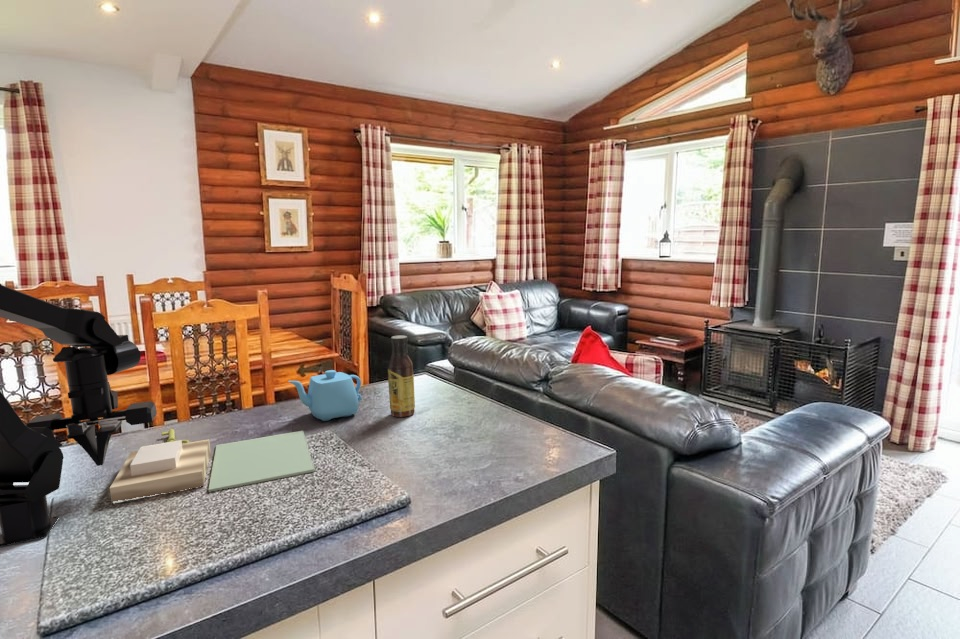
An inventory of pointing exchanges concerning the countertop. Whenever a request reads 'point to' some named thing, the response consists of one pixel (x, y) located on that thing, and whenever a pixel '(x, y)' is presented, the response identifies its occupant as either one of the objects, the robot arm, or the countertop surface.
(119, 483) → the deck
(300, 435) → the mat
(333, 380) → the teapot
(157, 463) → the white flat block
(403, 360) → the sauce bottle
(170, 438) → the key
